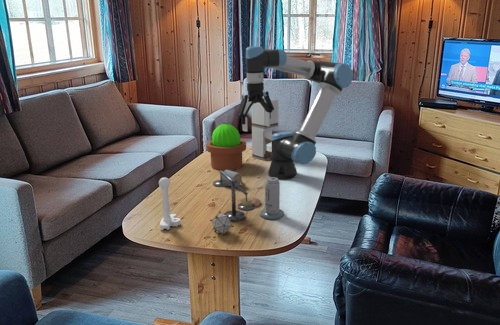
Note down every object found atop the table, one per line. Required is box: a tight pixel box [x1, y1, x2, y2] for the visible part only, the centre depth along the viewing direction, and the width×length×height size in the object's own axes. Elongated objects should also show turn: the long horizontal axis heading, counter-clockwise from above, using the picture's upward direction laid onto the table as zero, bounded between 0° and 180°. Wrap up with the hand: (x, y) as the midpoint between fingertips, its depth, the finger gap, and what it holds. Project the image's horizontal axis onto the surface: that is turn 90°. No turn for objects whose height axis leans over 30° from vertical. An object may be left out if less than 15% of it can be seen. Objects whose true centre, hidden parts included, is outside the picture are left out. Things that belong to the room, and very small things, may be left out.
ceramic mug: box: [222, 170, 243, 188], centre depth 226 cm, size 11×8×8 cm
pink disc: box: [237, 196, 261, 208], centre depth 202 cm, size 10×10×1 cm
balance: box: [212, 170, 256, 223], centre depth 186 cm, size 25×9×18 cm, turn 37°
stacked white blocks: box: [251, 97, 279, 162], centre depth 268 cm, size 11×11×35 cm
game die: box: [209, 211, 235, 236], centre depth 173 cm, size 9×8×10 cm
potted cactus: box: [205, 122, 247, 171], centre depth 253 cm, size 22×22×25 cm
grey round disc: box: [260, 208, 285, 221], centre depth 190 cm, size 10×10×1 cm
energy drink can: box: [264, 176, 281, 215], centre depth 188 cm, size 6×6×15 cm
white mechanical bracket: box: [158, 177, 181, 231], centre depth 179 cm, size 11×8×20 cm
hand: (256, 128), depth 208 cm, fingers open, 13 cm apart
